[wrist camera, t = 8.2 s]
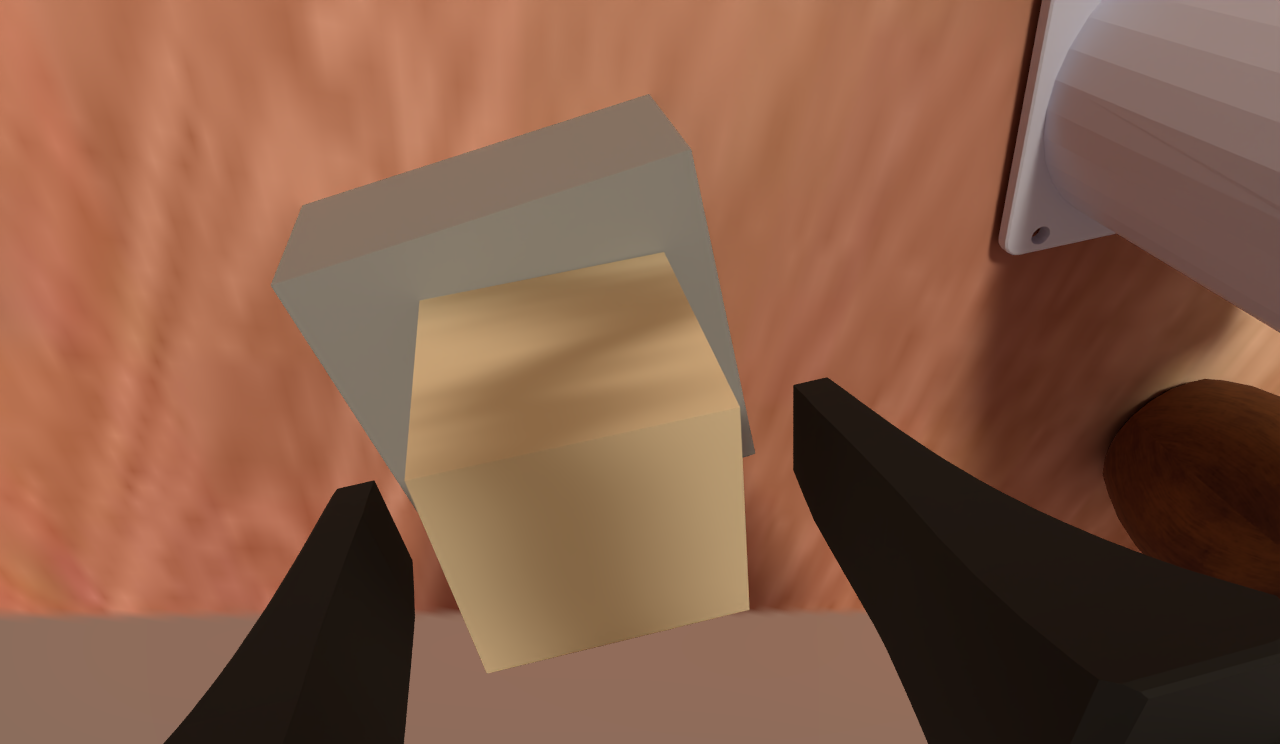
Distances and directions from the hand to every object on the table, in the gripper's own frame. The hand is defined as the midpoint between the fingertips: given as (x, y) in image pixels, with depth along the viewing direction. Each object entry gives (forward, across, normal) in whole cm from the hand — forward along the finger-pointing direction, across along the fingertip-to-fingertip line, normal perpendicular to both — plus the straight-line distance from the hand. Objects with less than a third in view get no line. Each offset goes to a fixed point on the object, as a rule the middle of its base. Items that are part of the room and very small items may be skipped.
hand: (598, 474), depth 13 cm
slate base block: (+8, +1, 0) cm, 8 cm away
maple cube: (+4, 0, 0) cm, 4 cm away
